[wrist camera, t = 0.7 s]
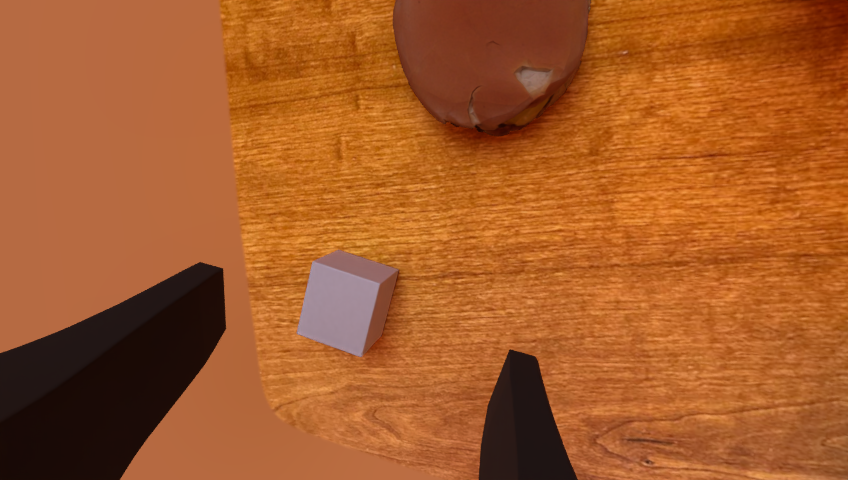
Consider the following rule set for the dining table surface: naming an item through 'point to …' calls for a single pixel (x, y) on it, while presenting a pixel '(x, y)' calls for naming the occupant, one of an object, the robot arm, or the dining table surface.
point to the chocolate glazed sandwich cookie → (490, 57)
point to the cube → (347, 302)
